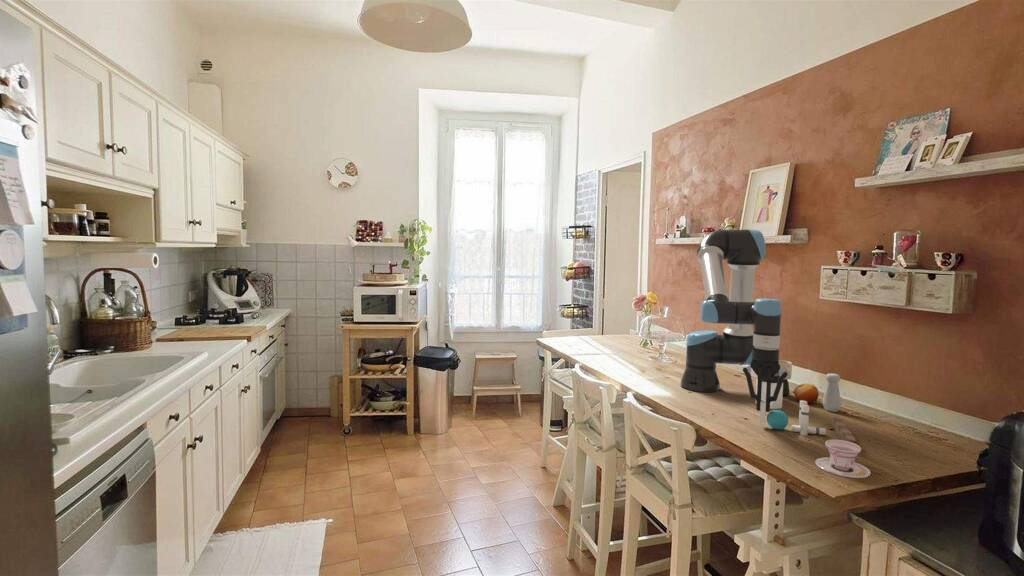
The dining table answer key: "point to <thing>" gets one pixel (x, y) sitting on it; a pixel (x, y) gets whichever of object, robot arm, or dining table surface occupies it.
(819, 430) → the front pin
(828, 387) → the salt shaker
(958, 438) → the dining table surface
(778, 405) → the jar
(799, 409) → the pin
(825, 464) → the teacup
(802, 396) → the fruit
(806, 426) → the pin
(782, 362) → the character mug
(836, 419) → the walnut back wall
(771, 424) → the teal ball
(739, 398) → the dining table surface
